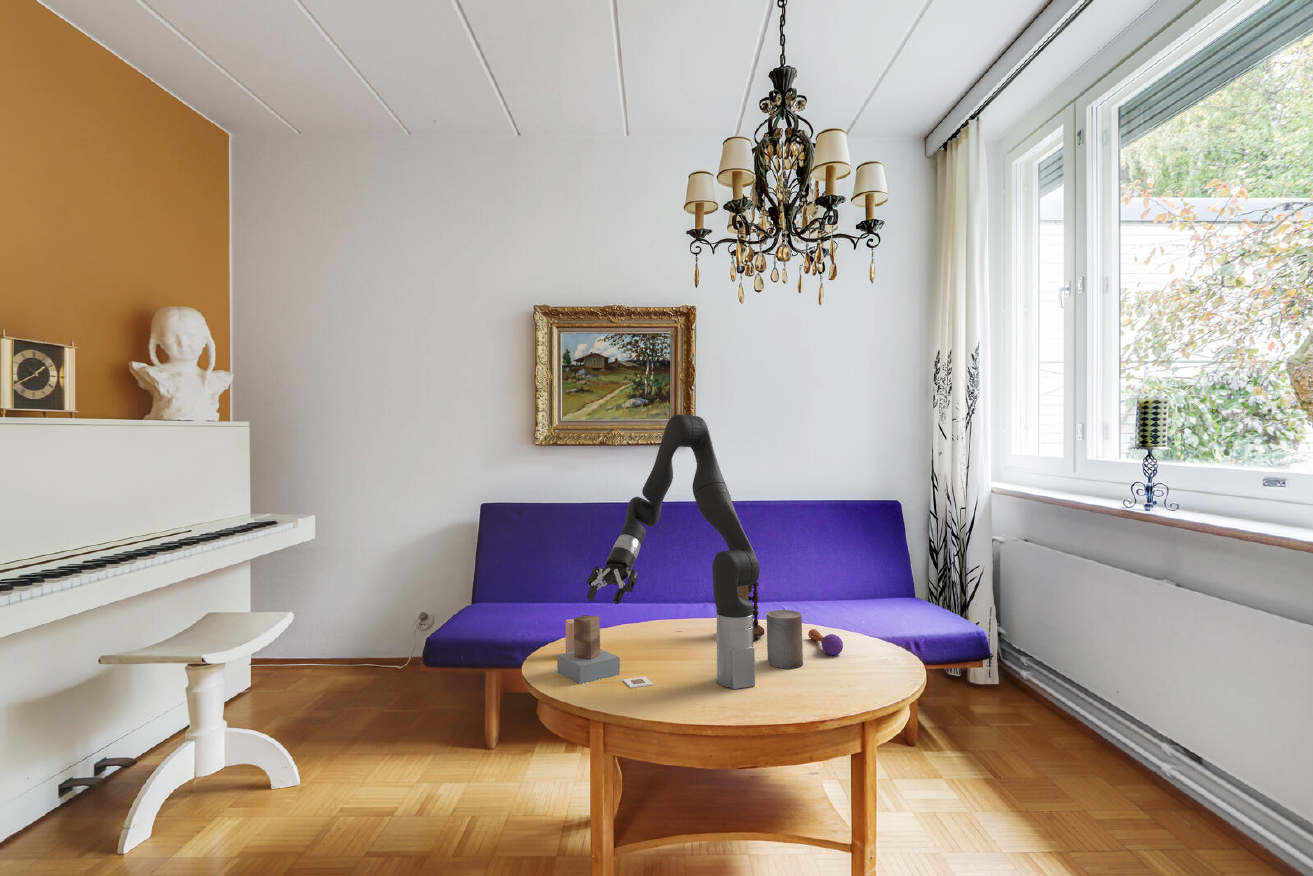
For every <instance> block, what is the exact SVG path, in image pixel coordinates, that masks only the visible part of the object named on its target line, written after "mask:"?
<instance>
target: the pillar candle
mask: <svg viewBox="0 0 1313 876" xmlns="http://www.w3.org/2000/svg"><path fill="white" fill-rule="evenodd" d="M765 615H766V643H767V644H766V647H767V663H768V665H769V664H770V665H769V666H771V665H772V666H771V667H775V668H778V669H795V668H800V667H801V666H803V665H804V657H803V656H804V655H803V624H802V623H803V622H802V619H803V618H802V613H801V612H799V611H796V610H792V609H791V610H789V609H785V608H784V609H776V610H775V609H774V610H770V611H768V612H766V613H765Z"/></svg>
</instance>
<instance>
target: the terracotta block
mask: <svg viewBox="0 0 1313 876" xmlns="http://www.w3.org/2000/svg"><path fill="white" fill-rule="evenodd" d="M574 619H575V618H571V619H568V618H567V619H565V653H569V652H574Z"/></svg>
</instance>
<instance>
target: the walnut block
mask: <svg viewBox="0 0 1313 876" xmlns="http://www.w3.org/2000/svg"><path fill="white" fill-rule="evenodd" d="M573 619H574V658H583V659H593V658H594V657H596V656H598V655H600V649H601V621H600V620H601V616H599V615H589V614H587V615H585V614H582V615H581V616H578V617H575V618H573Z"/></svg>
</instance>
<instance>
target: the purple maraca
mask: <svg viewBox="0 0 1313 876" xmlns="http://www.w3.org/2000/svg"><path fill="white" fill-rule="evenodd" d="M807 633H808V634H807V635H808V638H809V639H810V638H811V640H812V639H813V641H816V642H821V648H822V650H823V652H825V654H827V655H829V656H831V655H836V656H838V655H840V654H841V653H842V651H843V649H844V643H843V640H842V638H841V637H840V636H839V635H836V634H833V633H829V634H826V635H825V636H823V634H821V633H820V632H819V631H818V629H815V628H812V629H810V630H809V631H808V632H807Z"/></svg>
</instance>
